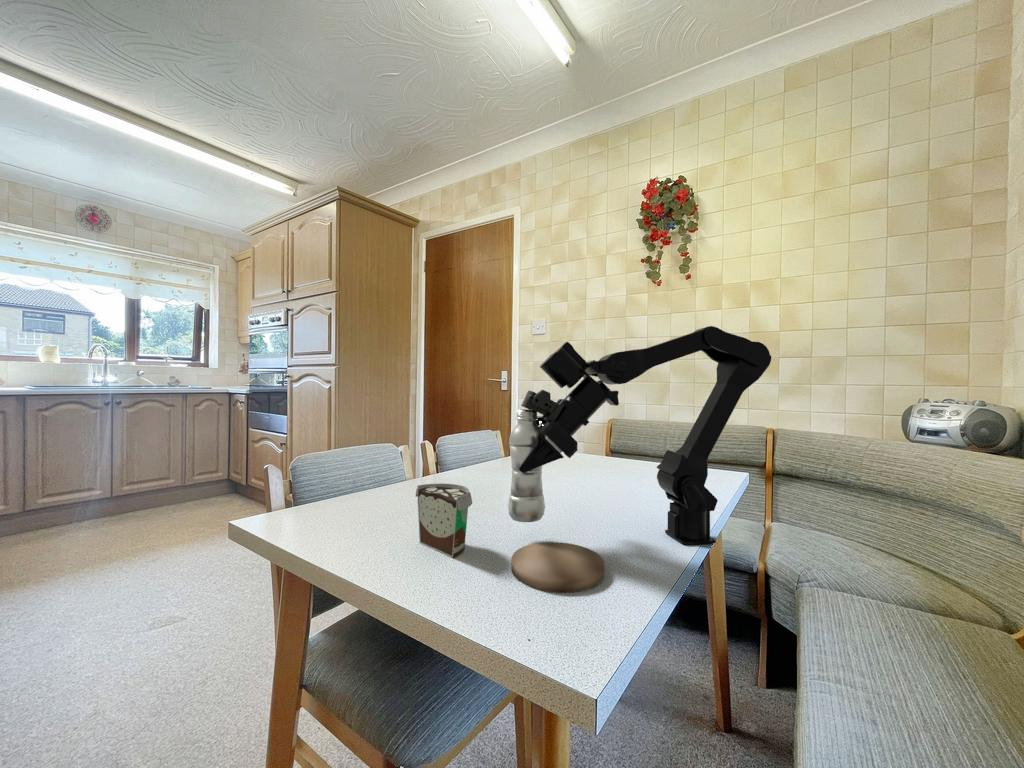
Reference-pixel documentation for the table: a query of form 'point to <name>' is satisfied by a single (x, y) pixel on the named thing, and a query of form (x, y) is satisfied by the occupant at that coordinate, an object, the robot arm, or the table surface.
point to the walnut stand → (558, 567)
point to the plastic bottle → (528, 485)
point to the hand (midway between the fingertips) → (519, 467)
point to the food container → (443, 517)
